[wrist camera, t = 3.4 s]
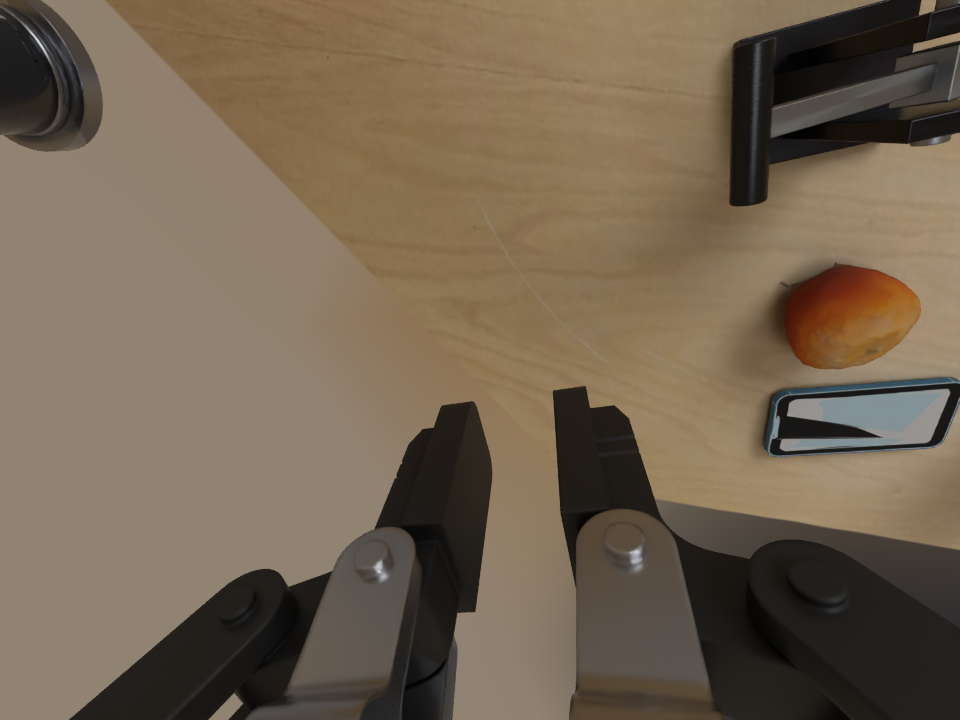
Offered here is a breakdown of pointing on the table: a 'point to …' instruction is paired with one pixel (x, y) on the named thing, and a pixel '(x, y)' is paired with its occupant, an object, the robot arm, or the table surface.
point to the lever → (818, 105)
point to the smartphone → (862, 417)
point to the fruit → (848, 316)
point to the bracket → (859, 75)
